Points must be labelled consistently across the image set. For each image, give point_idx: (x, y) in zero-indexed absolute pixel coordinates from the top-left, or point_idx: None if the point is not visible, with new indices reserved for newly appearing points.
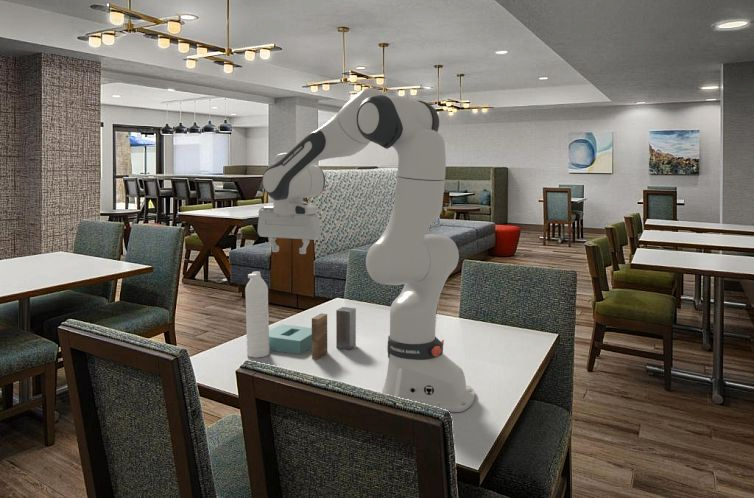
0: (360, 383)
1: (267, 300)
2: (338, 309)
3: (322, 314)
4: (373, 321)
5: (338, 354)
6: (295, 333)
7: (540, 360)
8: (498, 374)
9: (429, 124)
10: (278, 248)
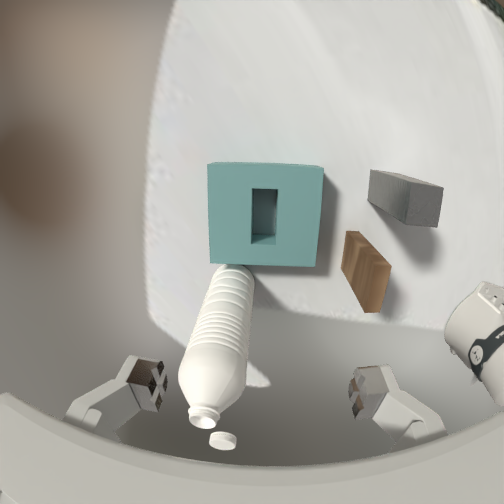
0: (423, 322)
1: (246, 354)
2: (408, 213)
3: (381, 274)
4: (365, 6)
5: (380, 232)
6: (281, 222)
7: None
8: None
9: None
10: (153, 375)
